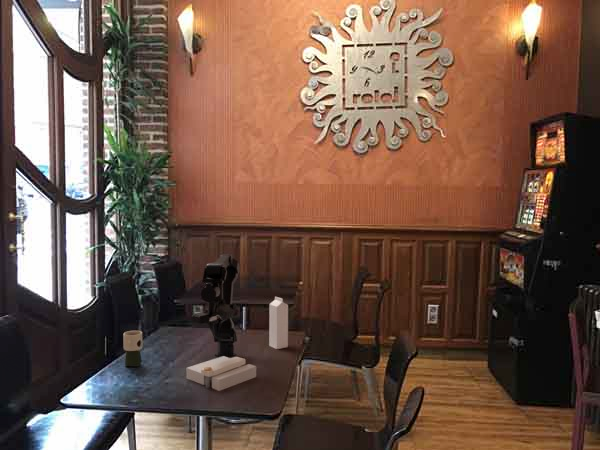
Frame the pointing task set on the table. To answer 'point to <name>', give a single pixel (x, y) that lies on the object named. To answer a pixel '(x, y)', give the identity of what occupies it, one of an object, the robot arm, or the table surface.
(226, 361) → the cover
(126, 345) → the character mug
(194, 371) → the white block with cutout
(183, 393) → the table surface
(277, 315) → the milk
